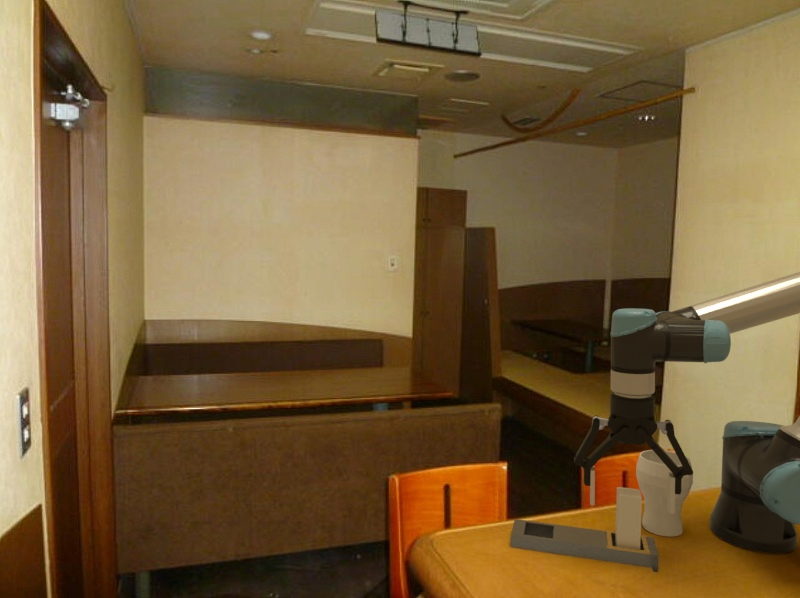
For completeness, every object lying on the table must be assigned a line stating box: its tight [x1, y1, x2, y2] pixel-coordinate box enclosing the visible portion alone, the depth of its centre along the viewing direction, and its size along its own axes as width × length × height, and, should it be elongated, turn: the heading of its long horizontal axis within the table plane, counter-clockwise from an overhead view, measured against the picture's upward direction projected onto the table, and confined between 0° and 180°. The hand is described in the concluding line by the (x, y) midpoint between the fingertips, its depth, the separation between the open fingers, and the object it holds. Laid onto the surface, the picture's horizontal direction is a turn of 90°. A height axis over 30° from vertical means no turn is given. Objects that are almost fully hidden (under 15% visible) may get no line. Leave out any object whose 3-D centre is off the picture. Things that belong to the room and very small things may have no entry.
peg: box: [615, 486, 643, 550], centre depth 108 cm, size 4×4×12 cm
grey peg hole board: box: [510, 518, 660, 573], centre depth 110 cm, size 26×7×3 cm, turn 73°
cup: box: [635, 449, 694, 537], centre depth 120 cm, size 11×11×15 cm
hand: (630, 506), depth 107 cm, fingers open, 13 cm apart
